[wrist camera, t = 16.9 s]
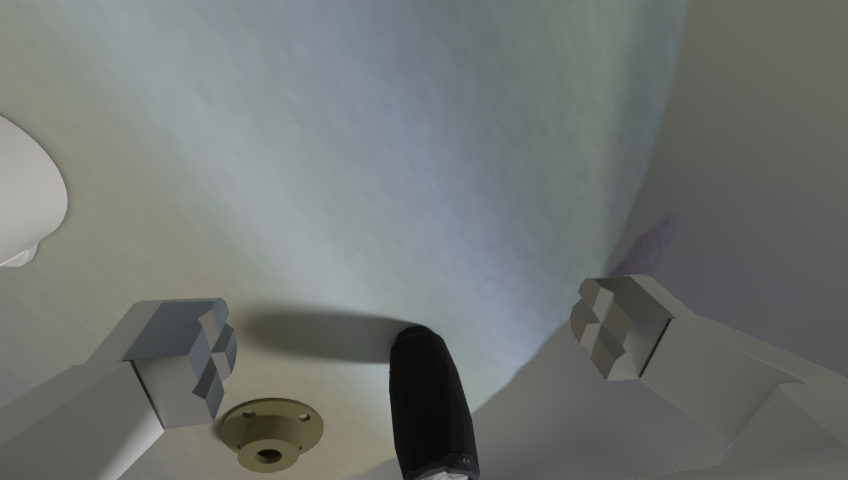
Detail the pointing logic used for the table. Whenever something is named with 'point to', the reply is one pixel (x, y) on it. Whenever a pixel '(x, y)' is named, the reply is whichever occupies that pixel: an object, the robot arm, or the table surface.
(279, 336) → the table surface
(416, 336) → the portable speaker
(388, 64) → the table surface
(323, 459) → the table surface
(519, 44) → the table surface
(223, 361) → the robot arm
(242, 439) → the flange
